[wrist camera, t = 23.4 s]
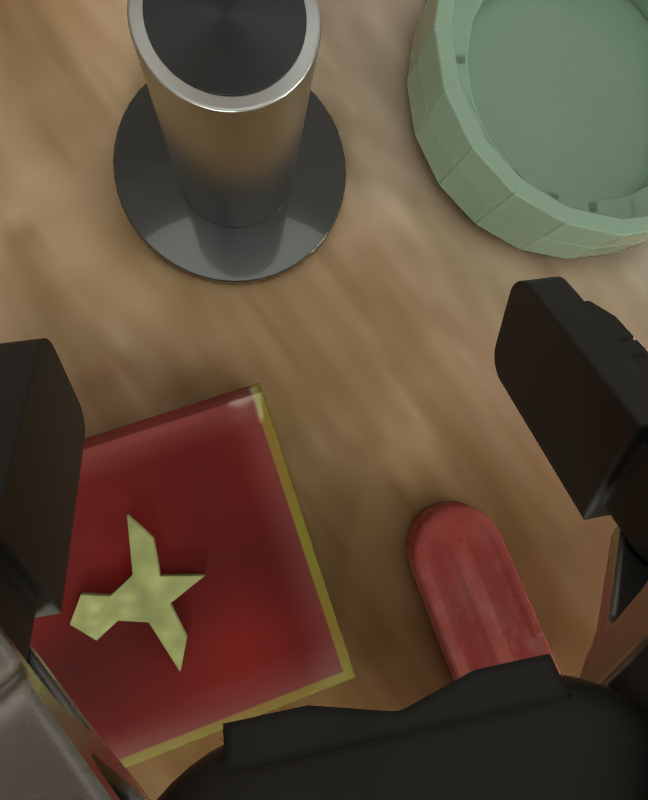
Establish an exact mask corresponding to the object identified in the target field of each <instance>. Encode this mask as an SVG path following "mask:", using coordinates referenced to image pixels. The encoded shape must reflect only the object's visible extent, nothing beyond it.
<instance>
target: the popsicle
mask: <svg viewBox="0 0 648 800" xmlns="http://www.w3.org/2000/svg"><path fill="white" fill-rule="evenodd" d="M406 546H407V556H408V560H409V564H410V568H411V570H412V573H413V576H414V578H415V581H416V584H417V586H418V589H419V592H420V595H421V597H422V600H423V602H424V605H425V608H426V610H427V613H428V616H429V618H430V621H431V624H432V626H433V629H434V632H435V634H436V637H437V639H438V642H439V645H440V647H441V650H442V653H443V655H444V658H445V660H446V663H447V666H448V668H449V671H450V673H451V676H452V679H453V681H455V680H457V679H459V678H460V677H462V676H464V675H466V674H467V673H469V672H471V671H473V670H475V669H480V668H484V667H489V666H494V665H498V664H503V663H508V662H512V661H517V660H522V659H526V658H531V657H536V656H540V655H545V654H550V655H551V657H552V659H553V661H554V663H555V666H556V668H557V670H558V672H559V674H560V675H562V674H561V672H560V670H559V668H558V665H557V663H556V661H555V658H554V656H553V654H552V651H551V649H550V647H549V645H548V642H547V640H546V638H545V635H544V633H543V631H542V628H541V626H540V624H539V621H538V619H537V617H536V614H535V612H534V610H533V608H532V605H531V603H530V601H529V598H528V596H527V594H526V591H525V589H524V587H523V584H522V582H521V580H520V578H519V575H518V573H517V571H516V568H515V566H514V564H513V561H512V559H511V557H510V555H509V552H508V550H507V548H506V546H505V543H504V541H503V539H502V536H501V535H500V533H499V531H498V529H497V528H496V526H495V524H494V523H493V522H492V521H491V519H490V518H489V517H488V516H487V515H485V514H484V513H482V512H481V511H479V510H477V509H475V508H473V507H470V506H468V505H466V504H464V503H460V502H456V501H454V502H441V503H438V504H436V505H433V506H431V507H429V508H427V509H426V510H425V511H424V512H423V513H422V514H421V515H420V516H419V517H417V518H416V519H415V521H414V523H413V525H412V527H411V529H410V532H409V535H408V539H407V544H406Z"/></svg>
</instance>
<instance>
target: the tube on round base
mask: <svg viewBox="0 0 648 800" xmlns="http://www.w3.org/2000/svg"><path fill="white" fill-rule="evenodd" d="M127 16H128V25H129V30H130V34H131V38H132V41H133V44H134V47H135V50H136V53H137V56H138V59H139V62H140V65H141V68H142V71H143V74H144V77H145V80H146V84H147V87H148V90H149V93H150V96H151V99H152V102H153V105H154V108H155V111H156V114H157V117H158V120H159V123H160V126H161V129H162V132H163V136H164V139H165V142H166V145H167V148H168V151H169V154H170V157H171V160H172V163H173V166H174V169H175V172H176V175H177V178H178V181H179V184H180V187H181V190H182V192H183V194H184V196H185V198H186V199H187V201H188V202H189V203H190V205H191V206H192V207H193V208H194V209H195V210H196V211H197V212H198V213H199V214H201V215H202V216H204V217H205V218H206V219H208V220H210V221H212V222H214V223H217V224H220V225H223V226H228V227H248V226H253V225H256V224H259V223H261V222H263V221H265V220H267V219H269V218H270V217H272V216H273V215H274V214H275V213H276V212H277V211H278V210H279V209H280V208H281V207H282V206H283V204H284V203H285V201H286V200H287V197H288V195H289V193H290V190H291V187H292V182H293V177H294V172H295V167H296V162H297V157H298V151H299V146H300V141H301V136H302V131H303V126H304V120H305V115H306V110H307V105H308V100H309V95H310V90H311V84H312V79H313V74H314V69H315V64H316V59H317V53H318V48H319V43H320V38H321V13H320V8H319V3H318V0H128V1H127Z"/></svg>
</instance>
